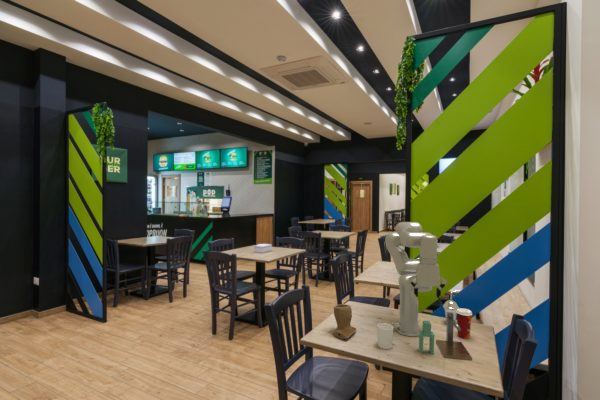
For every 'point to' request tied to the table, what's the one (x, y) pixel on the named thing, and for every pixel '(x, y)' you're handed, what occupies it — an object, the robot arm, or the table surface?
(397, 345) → the table surface
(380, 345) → the white cup
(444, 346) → the hook stand
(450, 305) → the soap dispenser
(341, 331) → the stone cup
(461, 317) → the paper cup
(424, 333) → the green link
